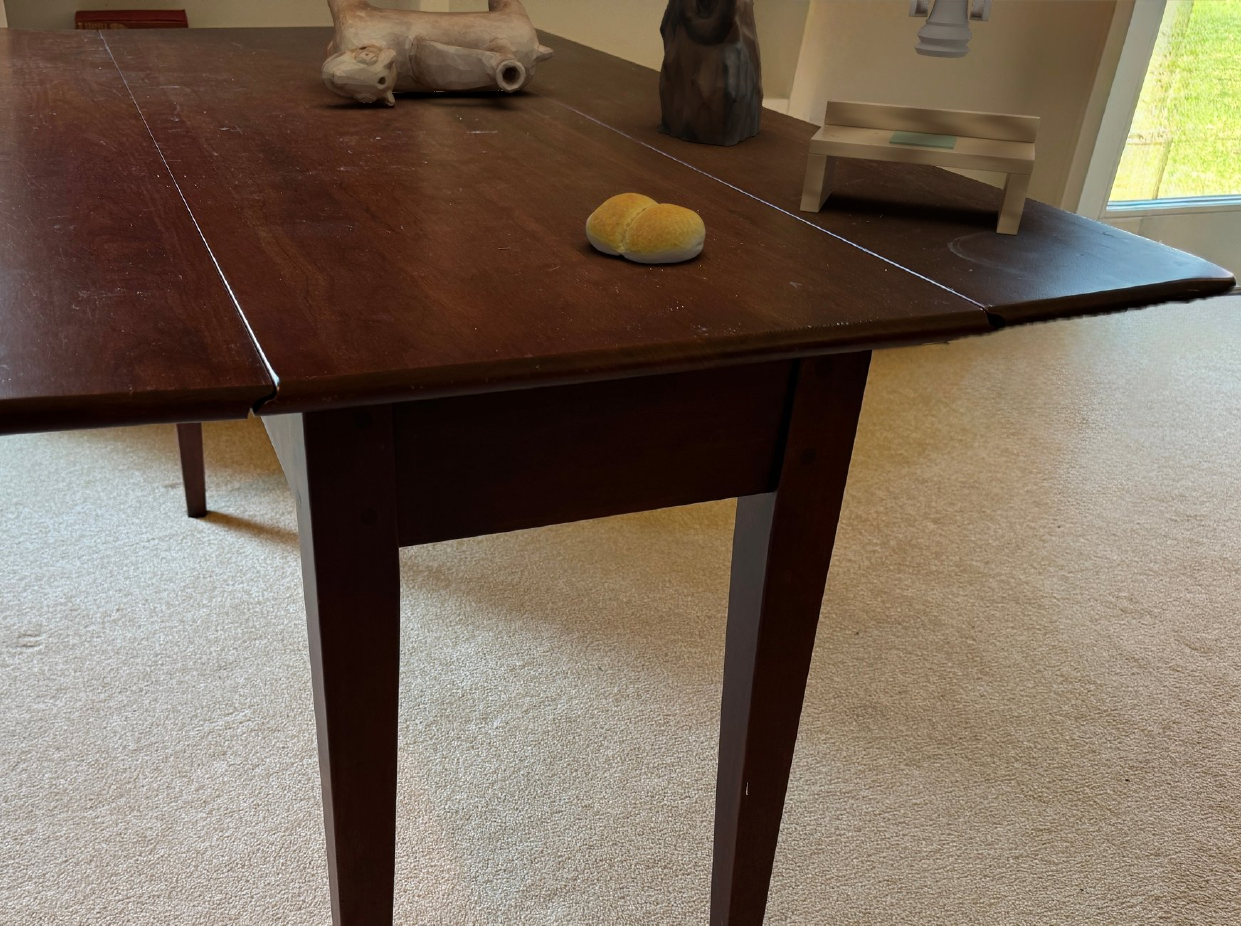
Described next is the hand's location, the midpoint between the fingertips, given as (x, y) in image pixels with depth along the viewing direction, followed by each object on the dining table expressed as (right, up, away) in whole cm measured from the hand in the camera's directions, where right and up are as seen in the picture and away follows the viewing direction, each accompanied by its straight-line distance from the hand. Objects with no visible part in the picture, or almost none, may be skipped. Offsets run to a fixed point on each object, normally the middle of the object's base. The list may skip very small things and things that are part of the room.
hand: (947, 18), depth 93 cm
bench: (0, -13, +8) cm, 16 cm away
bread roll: (-25, -20, -5) cm, 33 cm away
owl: (-13, +5, +38) cm, 40 cm away
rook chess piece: (0, -2, +2) cm, 3 cm away
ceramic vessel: (-46, +17, +56) cm, 75 cm away
